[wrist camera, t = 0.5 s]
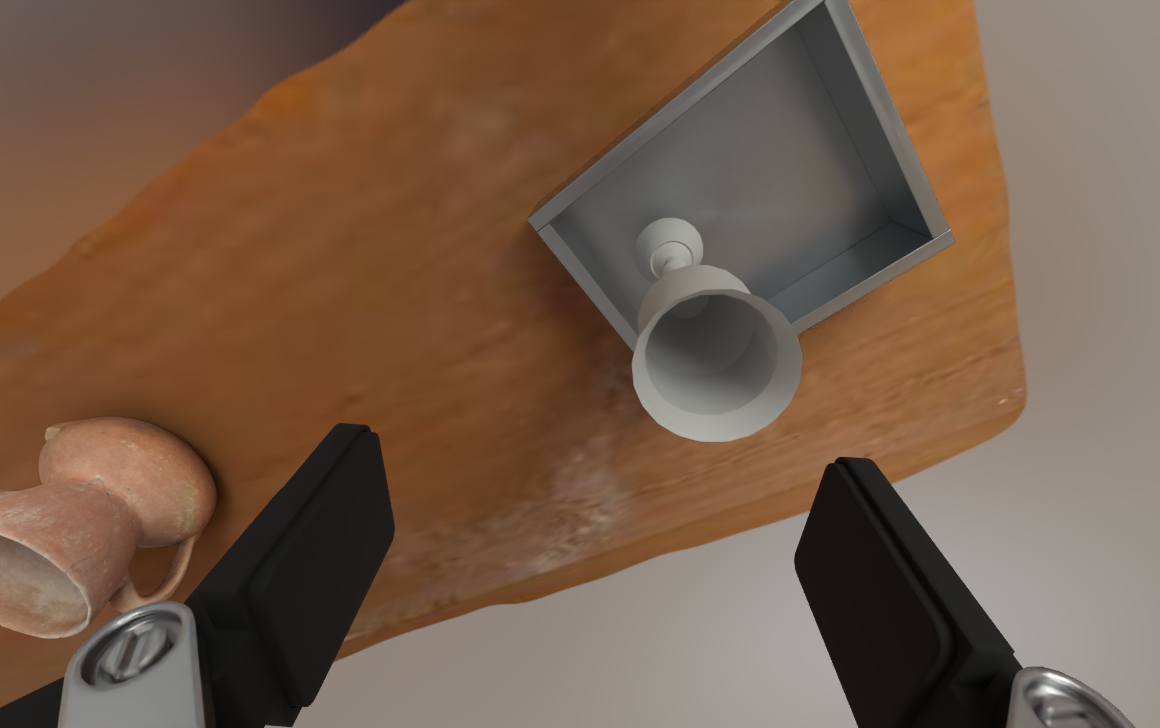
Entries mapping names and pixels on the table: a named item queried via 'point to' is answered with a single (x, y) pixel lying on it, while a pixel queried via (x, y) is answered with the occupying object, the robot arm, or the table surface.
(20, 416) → the table surface
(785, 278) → the grey rectangular tray
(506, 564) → the table surface
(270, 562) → the robot arm
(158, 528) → the ceramic jug
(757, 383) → the chalice
